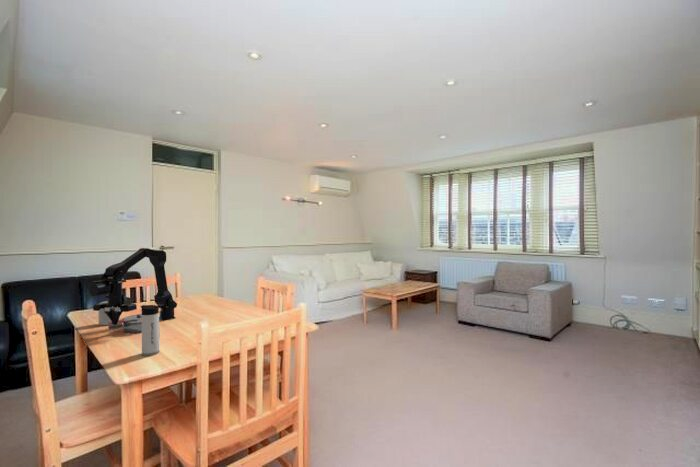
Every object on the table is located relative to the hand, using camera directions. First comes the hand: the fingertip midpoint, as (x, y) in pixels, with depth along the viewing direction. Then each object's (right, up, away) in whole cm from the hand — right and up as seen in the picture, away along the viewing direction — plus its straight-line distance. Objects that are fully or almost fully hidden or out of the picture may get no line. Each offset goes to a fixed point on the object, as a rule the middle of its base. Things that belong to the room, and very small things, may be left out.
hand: (115, 324), depth 164 cm
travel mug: (+30, -6, -23) cm, 38 cm away
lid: (+4, 0, +8) cm, 8 cm away
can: (-17, -5, +19) cm, 26 cm away
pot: (+5, -5, +9) cm, 11 cm away
